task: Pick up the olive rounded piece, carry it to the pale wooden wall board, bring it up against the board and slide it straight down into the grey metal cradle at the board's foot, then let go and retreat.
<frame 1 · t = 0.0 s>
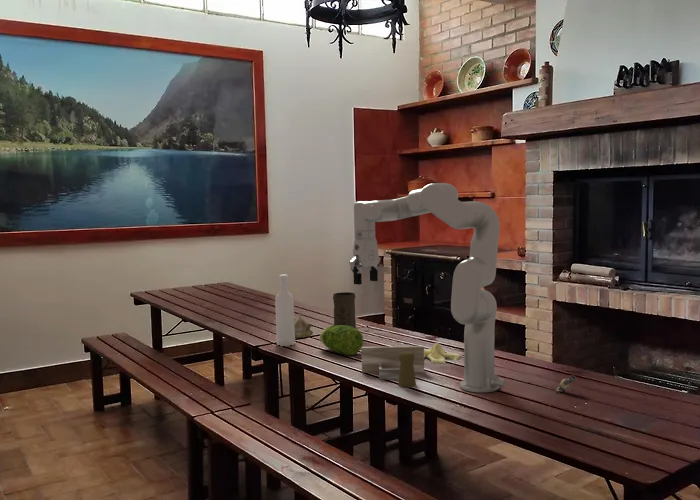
hand: (365, 282, 234), 31 cm above the table, fingers open, 9 cm apart
lettuce: (339, 352, 260), on the table
cloth: (433, 359, 248), on the table
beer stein: (345, 336, 290), on the table
ceramic model: (300, 335, 295), on the table
bottle: (285, 344, 276), on the table
wall board holder: (393, 375, 225), on the table
vase: (567, 393, 201), on the table
olive rounded piece: (407, 385, 213), on the table
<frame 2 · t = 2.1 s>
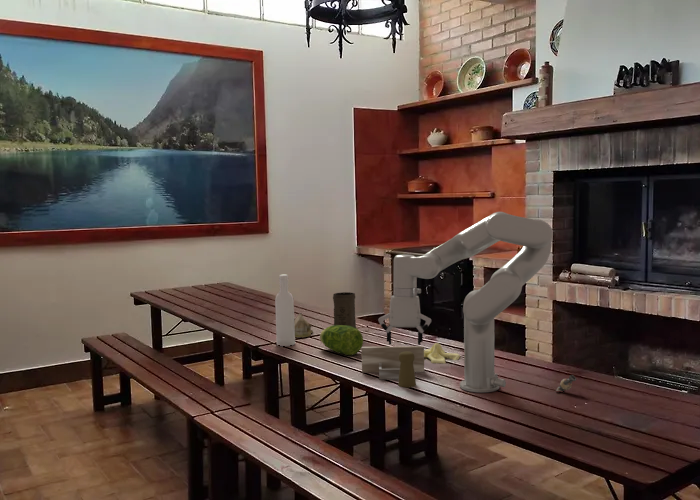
hand: (404, 343, 212), 14 cm above the table, fingers open, 9 cm apart
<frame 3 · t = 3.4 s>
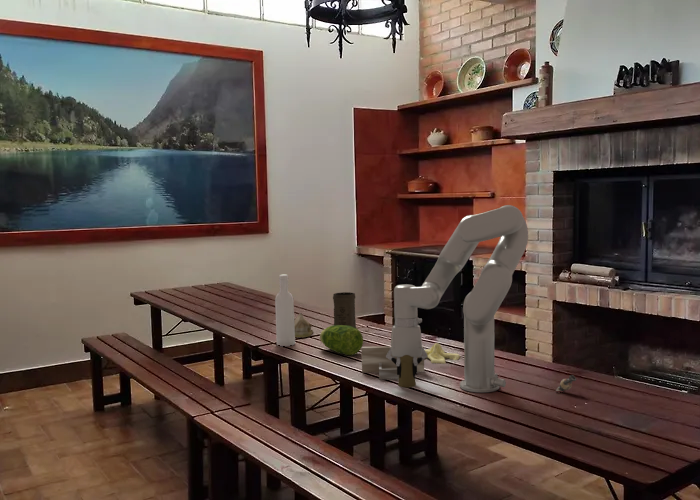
hand: (407, 376, 213), 3 cm above the table, fingers open, 3 cm apart
olive rounded piece: (406, 385, 213), on the table, touching gripper
everything else where it was.
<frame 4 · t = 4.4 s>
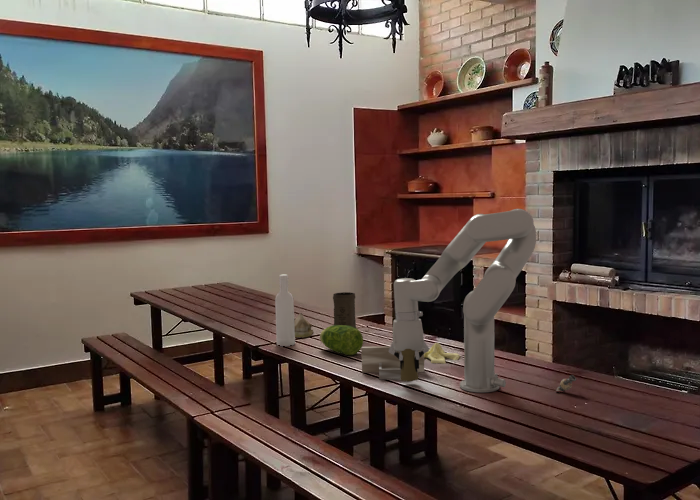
hand: (409, 370, 213), 5 cm above the table, fingers closed on olive rounded piece, 3 cm apart
olive rounded piece: (409, 379, 213), point 2 cm above the table, touching gripper
everything else where it was.
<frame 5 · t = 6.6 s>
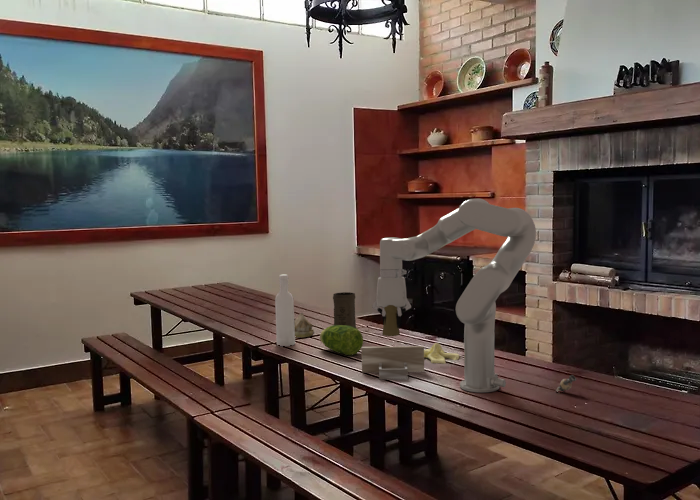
hand: (391, 326, 221), 18 cm above the table, fingers closed on olive rounded piece, 3 cm apart
olive rounded piece: (391, 334, 221), point 15 cm above the table, touching gripper
when the fingers open (5 cm above the table, at t = 9.8 s): olive rounded piece drops 1 cm, resting on wall board holder.
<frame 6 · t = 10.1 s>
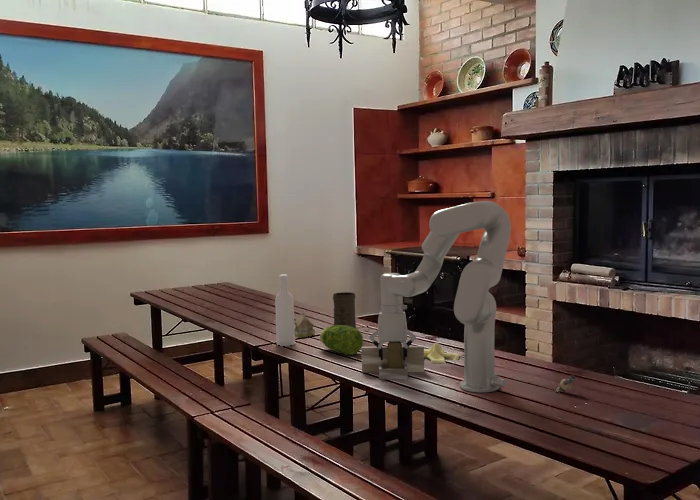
hand: (393, 358, 225), 6 cm above the table, fingers open, 7 cm apart
olive rounded piece: (395, 373, 225), point 1 cm above the table, touching wall board holder
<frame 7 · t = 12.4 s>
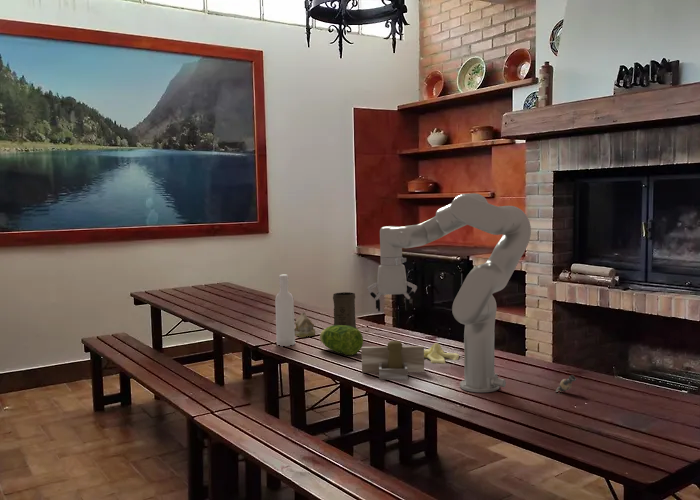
hand: (392, 310, 226), 22 cm above the table, fingers open, 9 cm apart
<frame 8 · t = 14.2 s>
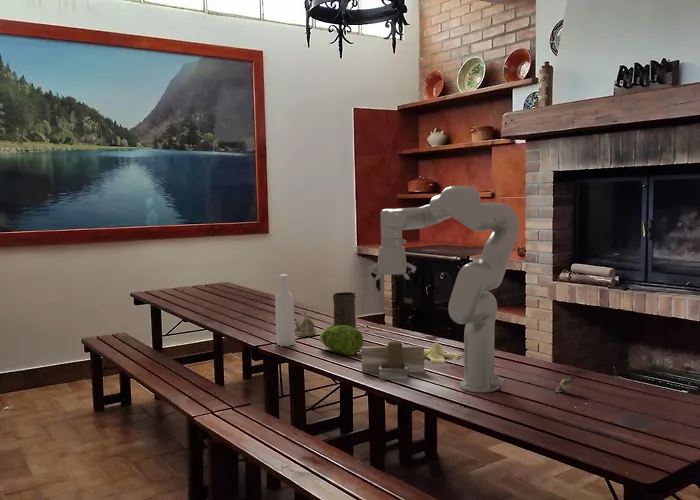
hand: (392, 290, 233), 28 cm above the table, fingers open, 9 cm apart
at the end: olive rounded piece 0.8 cm off-centre on the wall board holder, point 0.8 cm above the wall board holder's base; olive rounded piece tilted 0°; the gripper is holding nothing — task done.
